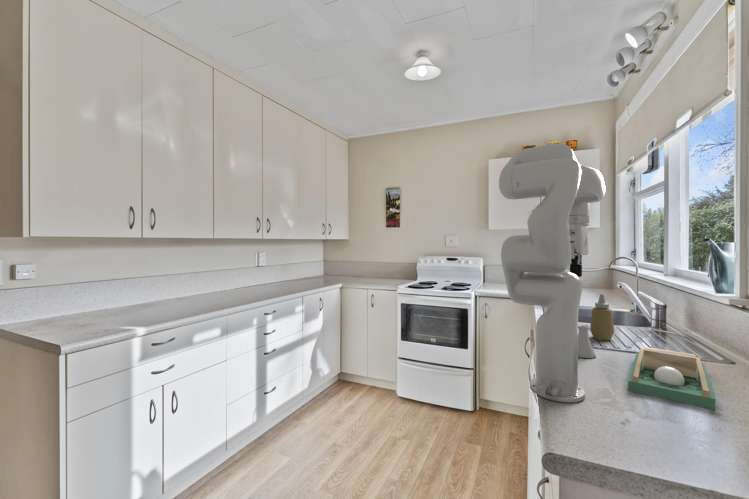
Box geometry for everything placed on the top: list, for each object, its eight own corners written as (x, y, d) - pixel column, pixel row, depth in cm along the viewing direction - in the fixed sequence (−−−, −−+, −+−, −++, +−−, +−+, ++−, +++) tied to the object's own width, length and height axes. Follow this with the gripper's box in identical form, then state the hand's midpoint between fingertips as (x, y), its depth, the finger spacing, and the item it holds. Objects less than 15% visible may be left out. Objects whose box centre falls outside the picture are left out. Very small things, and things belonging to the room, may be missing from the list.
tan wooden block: (644, 364, 98) (644, 346, 98) (695, 373, 91) (695, 354, 91) (643, 368, 95) (643, 350, 95) (696, 378, 88) (696, 358, 88)
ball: (685, 383, 82) (684, 364, 86) (653, 377, 86) (654, 359, 90) (684, 398, 85) (683, 379, 88) (653, 391, 89) (654, 373, 92)
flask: (601, 359, 111) (600, 329, 111) (579, 359, 111) (578, 329, 111) (587, 352, 118) (587, 323, 118) (566, 352, 118) (566, 324, 118)
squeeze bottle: (591, 335, 139) (591, 292, 139) (615, 338, 134) (615, 293, 134) (588, 339, 133) (588, 294, 133) (613, 343, 128) (613, 296, 128)
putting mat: (636, 359, 110) (636, 347, 110) (704, 371, 99) (704, 358, 99) (628, 390, 87) (628, 375, 87) (715, 409, 77) (715, 392, 77)
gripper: (583, 219, 103) (583, 278, 103) (594, 222, 114) (593, 275, 114) (556, 220, 108) (556, 277, 108) (569, 223, 119) (569, 274, 119)
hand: (575, 276), depth 111 cm, fingers closed
